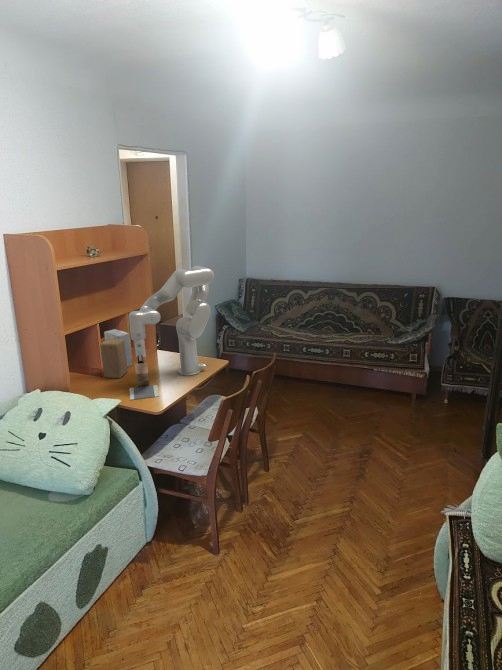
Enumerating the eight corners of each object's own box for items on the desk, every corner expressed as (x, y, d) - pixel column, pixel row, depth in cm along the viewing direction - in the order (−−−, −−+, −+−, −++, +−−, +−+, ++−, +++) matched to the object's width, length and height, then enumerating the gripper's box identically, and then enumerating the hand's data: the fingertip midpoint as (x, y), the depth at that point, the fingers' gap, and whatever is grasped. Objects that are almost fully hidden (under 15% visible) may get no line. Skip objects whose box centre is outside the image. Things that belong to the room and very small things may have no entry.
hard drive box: (133, 365, 269) (129, 333, 263) (122, 369, 263) (118, 336, 257) (118, 359, 279) (114, 328, 272) (107, 363, 273) (103, 331, 267)
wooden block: (120, 378, 250) (116, 344, 244) (103, 377, 252) (99, 343, 246) (128, 372, 259) (124, 338, 253) (112, 371, 261) (108, 337, 255)
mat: (157, 385, 240) (157, 384, 240) (159, 396, 228) (158, 395, 227) (129, 388, 237) (129, 388, 237) (130, 400, 224) (130, 399, 224)
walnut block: (148, 375, 244) (147, 362, 232) (149, 385, 240) (148, 372, 229) (136, 377, 242) (134, 363, 231) (137, 387, 239) (135, 374, 227)
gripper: (146, 338, 228) (149, 373, 233) (145, 330, 241) (148, 362, 247) (130, 340, 226) (134, 374, 231) (130, 331, 240) (133, 364, 245)
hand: (141, 368), depth 239 cm, fingers closed
